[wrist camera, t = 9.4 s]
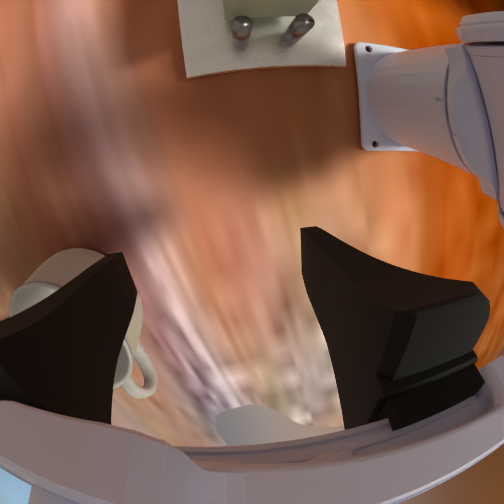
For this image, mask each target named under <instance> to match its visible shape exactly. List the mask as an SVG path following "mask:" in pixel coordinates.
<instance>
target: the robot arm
mask: <svg viewBox="0 0 504 504" xmlns="http://www.w3.org/2000/svg"><path fill="white" fill-rule="evenodd" d="M459 25H460V27H457V28H456V33H457V35H458V37H459V40H460V41H462V42H464V43H459V44H449V45H441V46H433V47H426V48H420V49H414V50H407V49H402V48H397V47H392V46H386V45H380V44H373V43H365V42H358V43H356V44H355V45H354V55H355V63H356V73H357V83H358V95H359V109H360V129H361V146H362V148H363V149H364V150H367V151H419V152H422V153H425V154H427V155H430V156H432V157H435V158H437V159H439V160H442V161H444V162H446V163H449V164H451V165H453V166H455V167H458V168H460V169H462V170H464V171H466V172H468V173H470V174H472V175H475V176H476V177H477V178H478V180H479V182H480V185H481V190H482V192H483V193H485V194H487V195H488V196H490V197H492V198H493V199H495V200H497V207H498V216H499V220H500V223H501V225H502V227H503V229H504V11H496V12H485V13H478V14H472V15H467V16H463V17H462V18H461V21H460V24H459ZM365 47H368V48H369V50H370V52H367V51H366V49H365ZM373 141H376V146H375V147H373V146H372V143H373ZM300 230H301V259H302V275H303V279H304V283H305V287H306V291H307V294H308V297H309V299H310V302H311V304H312V307H313V309H314V312H315V314H316V317H317V319H318V322H319V324H320V327H321V329H322V332H323V334H324V337H325V340H326V343H327V346H328V350H329V354H330V358H331V362H332V366H333V370H334V374H335V379H336V383H337V388H338V393H339V398H340V404H341V409H342V415H343V421H344V428H345V430H343V431H339V432H334V433H330V434H325V435H321V436H315V437H309V438H304V439H298V440H291V441H284V442H276V443H267V444H257V445H244V446H223V447H185V446H172V445H171V444H169V443H167V442H166V441H164V440H161V439H158V438H155V437H152V436H149V435H146V434H143V433H141V432H138V431H135V430H131V429H127V428H122V427H118V426H114V425H111V408H112V395H113V385H114V378H115V372H116V366H117V362H118V358H119V354H120V351H121V348H122V345H123V342H124V339H125V336H126V333H127V330H128V327H129V324H130V321H131V319H132V316H133V313H134V308H135V304H136V298H137V293H138V292H137V289H136V287H135V284H134V282H133V279H132V277H131V274H130V271H129V269H128V266H127V264H126V261H125V258H124V255H123V253H122V252H120V253H113V254H109V255H107V256H105V257H103V258H102V259H100V260H98V261H97V262H95V263H94V264H93V265H91V266H90V267H88V268H87V269H86V270H84V271H83V272H82V273H80V274H79V275H78V276H76V277H75V278H73V279H72V280H71V281H69V282H68V283H66V284H65V285H64V286H62V287H61V288H60V289H58V290H57V291H55V292H54V293H52V294H51V295H49V296H48V297H46V298H45V299H43V300H41V301H40V302H38V303H36V304H35V305H33V306H31V307H29V308H27V309H25V310H23V311H22V312H20V313H18V314H16V315H13V316H11V317H9V318H7V319H4V320H2V321H0V467H1V468H2V469H4V470H5V471H7V472H9V473H10V474H12V475H14V476H15V477H17V478H19V479H21V480H22V481H24V482H26V483H28V484H30V485H32V487H31V492H30V497H29V503H28V504H397V503H399V502H402V501H404V500H407V499H409V498H411V497H414V496H416V495H418V494H420V493H422V492H425V491H427V490H429V489H431V488H433V487H435V486H437V485H439V484H441V483H443V482H445V481H446V480H448V479H450V478H452V477H454V476H455V475H457V474H459V473H461V472H462V471H464V470H466V469H467V468H469V467H470V466H472V465H473V464H475V463H476V462H478V461H480V460H481V459H483V458H484V457H486V456H487V455H488V454H490V453H491V452H493V451H494V450H496V449H497V448H498V447H499V446H501V445H502V444H503V443H504V354H503V355H501V356H500V357H498V358H496V359H494V360H492V361H491V362H489V363H487V364H486V365H484V366H483V367H482V368H481V369H480V370H479V371H478V369H477V367H476V366H475V364H474V363H476V361H477V360H478V358H477V355H476V354H475V352H474V351H473V348H474V346H475V345H476V343H477V341H478V339H479V337H480V335H481V334H482V332H483V330H484V328H485V326H486V323H487V321H488V318H489V313H490V303H489V300H488V299H487V298H486V297H485V295H484V294H483V293H482V292H481V291H480V290H479V289H478V287H477V286H476V285H475V284H474V283H473V282H468V281H460V280H452V279H444V278H439V277H434V276H429V275H425V274H421V273H417V272H413V271H410V270H407V269H403V268H400V267H397V266H394V265H391V264H389V263H386V262H384V261H381V260H379V259H376V258H374V257H372V256H369V255H367V254H365V253H363V252H361V251H359V250H357V249H355V248H354V247H352V246H350V245H348V244H346V243H345V242H343V241H341V240H339V239H338V238H336V237H334V236H333V235H331V234H329V233H328V232H326V231H324V230H323V229H321V228H319V227H317V226H314V227H305V228H300Z"/></svg>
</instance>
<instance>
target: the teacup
mask: <svg viewBox="0 0 504 504" xmlns="http://www.w3.org/2000/svg"><path fill="white" fill-rule="evenodd" d="M103 257H105V255H103V254H101V253H98V252H96V251H92V250H89V249H83V248H72V249H66V250H63V251H60V252H58V253H56V254H54V255H52V256H51V257H49V258H48V259H47V260H46V261H45V262H43V263H42V264H41V265H40V266H39V267H38V268H37V269H36V270H35V271H34V272H33V273H32V274H31V275H30V276H29V278H28V279H27V280H26V281H25V282H24V283H23V284H22V285H20V286H19V287H18V288H17V289H16V290H15V291H14V292H13V294H12V296H11V298H10V302H9V317H11V316H13V315H16V314H18V313H20V312H22V311H23V310H25V309H27V308H29V307H31V306H33V305H35V304H36V303H38V302H40V301H41V300H43V299H45V298H46V297H48V296H49V295H51V294H52V293H54V292H55V291H57V290H58V289H60V288H61V287H62V286H64V285H65V284H66V283H68V282H69V281H71V280H72V279H73V278H75V277H76V276H78V275H79V274H80V273H82V272H83V271H84V270H86V269H87V268H88V267H90V266H91V265H93V264H94V263H95V262H97V261H98V260H100V259H102V258H103ZM135 287H136V286H135ZM136 289H137V288H136ZM137 292H138V290H137ZM142 322H143V307H142V302H141V298H140V295H139V292H138V293H137V298H136V304H135V308H134V313H133V316H132V319H131V321H130V324H129V327H128V330H127V333H126V336H125V339H124V342H123V345H122V348H121V351H120V354H119V358H118V362H117V366H116V372H115V378H114V385H113V388H116V387H119V386H121V387H122V388H123V390H124V391H125V392H126V393H127V394H128V395H130V396H132V397H134V398H138V399H143V398H147V397H149V396H151V395H152V394H153V393H154V392H155V391H156V388H157V385H158V375H157V371H156V368H155V366H154V364H153V362H152V360H151V358H150V357H149V355H148V354H147V352H146V351H145V349H144V348H143V346H142V345H141V342H140V338H139V337H140V333H141V329H142ZM134 358H135V360H136V361H137V363H138V365H139V367H140V369H141V371H142V373H143V377H144V386H143V387H141V386H139V385H138V384H137V383H136V382H135V381H134V379H133V377H132V370H133V365H134Z"/></svg>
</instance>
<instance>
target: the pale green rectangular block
mask: <svg viewBox="0 0 504 504" xmlns="http://www.w3.org/2000/svg"><path fill="white" fill-rule="evenodd" d="M319 1H320V0H223V7H224V14H225V21H226V20H233V19H234V18H235V17H237V16H241V15H243V16H247V17H249V18H257V17H283V16H297V15H298V14H301V13H305V14H308V13H309V12H310V11H311V9H312V8H313V7H314V6H315V5H316V4H317V3H318V2H319Z"/></svg>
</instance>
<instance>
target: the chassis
mask: <svg viewBox="0 0 504 504" xmlns="http://www.w3.org/2000/svg"><path fill="white" fill-rule="evenodd" d="M177 3H178V12H179V21H180V30H181V38H182V47H183V54H184V62H185V70H186V77H187V78H188V79H192V78H198V77H203V76H209V75H215V74H222V73H229V72H237V71H246V70H256V69H268V68H286V67H338V68H342V67H345V66H346V57H345V49H344V42H343V36H342V29H341V23H340V17H339V12H338V7H337V1H336V0H320V1H319V2H318V3H317V4H316V5H315V6H314V7H313V8H312V9H311V11H310V12H309V13H308V14H305V13H301V14H298V15H297V16H283V17H257V18H249V17H247V16H243V15H241V16H237V17H235V18H234V19H233V20H226V21H225V14H224V7H223V0H177Z"/></svg>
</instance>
